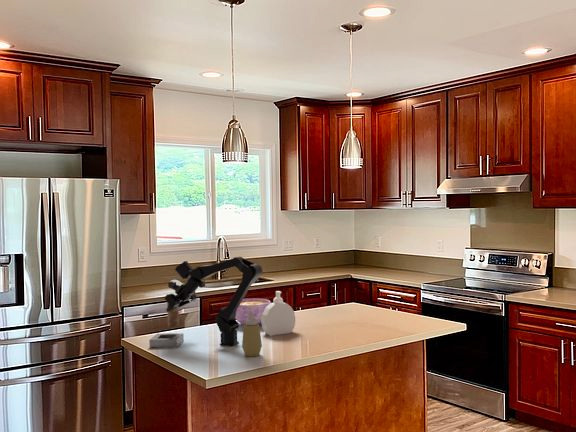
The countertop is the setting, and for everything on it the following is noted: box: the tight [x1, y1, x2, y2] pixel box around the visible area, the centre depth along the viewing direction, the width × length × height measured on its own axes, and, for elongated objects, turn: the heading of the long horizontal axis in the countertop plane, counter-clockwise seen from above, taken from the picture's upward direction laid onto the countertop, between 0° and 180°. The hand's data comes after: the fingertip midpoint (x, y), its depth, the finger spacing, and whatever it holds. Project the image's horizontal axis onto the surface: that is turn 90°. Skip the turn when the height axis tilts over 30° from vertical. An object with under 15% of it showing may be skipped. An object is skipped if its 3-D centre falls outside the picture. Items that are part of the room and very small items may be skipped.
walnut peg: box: [166, 293, 180, 328], centre depth 269 cm, size 5×5×14 cm
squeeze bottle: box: [241, 311, 263, 358], centre depth 239 cm, size 8×8×18 cm
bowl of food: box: [235, 298, 271, 326], centre depth 299 cm, size 20×20×12 cm
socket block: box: [148, 332, 185, 349], centre depth 260 cm, size 12×12×4 cm
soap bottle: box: [260, 290, 296, 337], centre depth 277 cm, size 16×5×20 cm, turn 119°
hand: (170, 310), depth 270 cm, fingers closed on walnut peg, 5 cm apart
